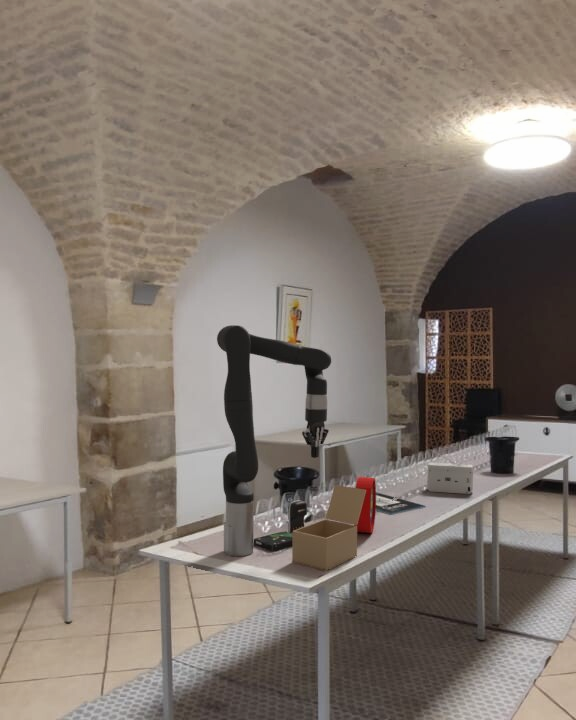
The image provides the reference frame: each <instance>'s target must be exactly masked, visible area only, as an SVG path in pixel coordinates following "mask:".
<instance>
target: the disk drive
mask: <svg viewBox="0 0 576 720" xmlns="http://www.w3.org/2000/svg"><path fill="white" fill-rule="evenodd" d="M292 542H293V533H289V532H288V531H286V530H285V531H279V532H276V533H272V534H268V535H262V536H259V537H256V538H253V546H256V547H259V548H262V549H263V550H266V551H268V552H277V551H281V550H285V549H288V548H291V547H292Z"/></svg>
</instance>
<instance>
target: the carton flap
mask: <svg viewBox="0 0 576 720" xmlns="http://www.w3.org/2000/svg"><path fill="white" fill-rule="evenodd" d="M365 493H366V490H364V489H358V488H355V487H352V486H347V485H346V486H344V485H339V484H334V488H333V491H332V494H331V497H330V501H329V505H328V508H327V511H326V512H327V513H326V515H325V520H330V521H335V522H340V523H345V524H350V525H357V524H358V520H359V516H360V512H361V509H362V505H363V501H364V497H365Z"/></svg>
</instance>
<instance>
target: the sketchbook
mask: <svg viewBox="0 0 576 720" xmlns="http://www.w3.org/2000/svg"><path fill="white" fill-rule="evenodd" d="M393 498H394V496H392V495H391V496H390V495H388V494H385V493H380V492H377V491H376V512H378V513H379V512H380V513H384V514H387V515H396V514H401V513H406V512H411V511H414V510H415V511H416V510H419V509H424V508H426V507H427V506H426V505H424V504H420V503H416V502H413V501H411V500H410V501H409V500H406V499H403V498H399V499H397V500H393V501H392V499H393ZM377 505H378V506H377Z"/></svg>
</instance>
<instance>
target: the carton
mask: <svg viewBox="0 0 576 720" xmlns="http://www.w3.org/2000/svg"><path fill="white" fill-rule="evenodd" d="M292 534H293V542H292V551H291V553H292V555H291V556H292V557H291V560H292V561H291V562H292V563H294V564H297V565H301V566H305V567H309V568H314V569H317V570H321V571H324V570H326V571H325V572H327V571H329V570H331V569H333V568H332V567H334V566H336V567H337V565H338V564H340V563H342V562H344V563H345V561H346V562H348V561H350V560H352V559H354V558H356V557H358V532H357V526H355V525H354V524H349V523H344V522H339V521H334V520H329V519H326V518H323V519H321V520H318V521H316V522H313V523H310V524H308V525H304V527H302V528H299V529H297V530H294V531H293V533H292ZM355 556H356V557H355ZM353 557H354V558H353ZM351 558H352V559H351ZM349 559H350V560H349ZM347 560H348V561H347ZM342 564H343V563H342ZM340 565H341V564H340ZM338 566H339V565H338ZM334 568H335V567H334ZM328 569H329V570H328Z"/></svg>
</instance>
